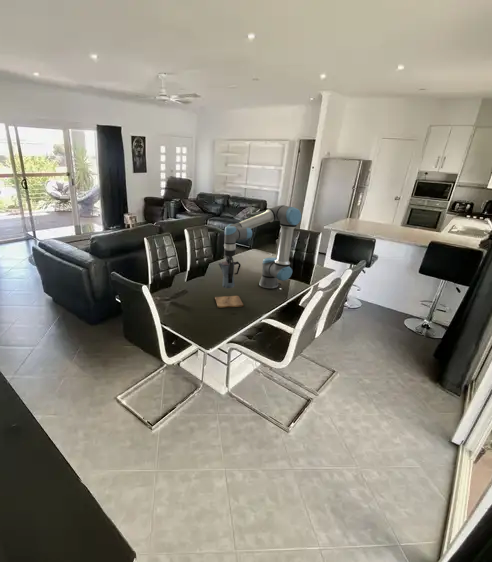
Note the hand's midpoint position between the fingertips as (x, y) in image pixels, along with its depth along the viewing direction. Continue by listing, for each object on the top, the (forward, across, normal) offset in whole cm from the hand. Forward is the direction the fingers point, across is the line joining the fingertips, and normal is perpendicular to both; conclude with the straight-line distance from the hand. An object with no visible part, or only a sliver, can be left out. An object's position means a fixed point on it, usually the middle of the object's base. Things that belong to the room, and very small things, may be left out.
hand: (229, 280), depth 226 cm
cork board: (+17, 0, 0) cm, 17 cm away
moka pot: (+4, 0, 0) cm, 4 cm away
